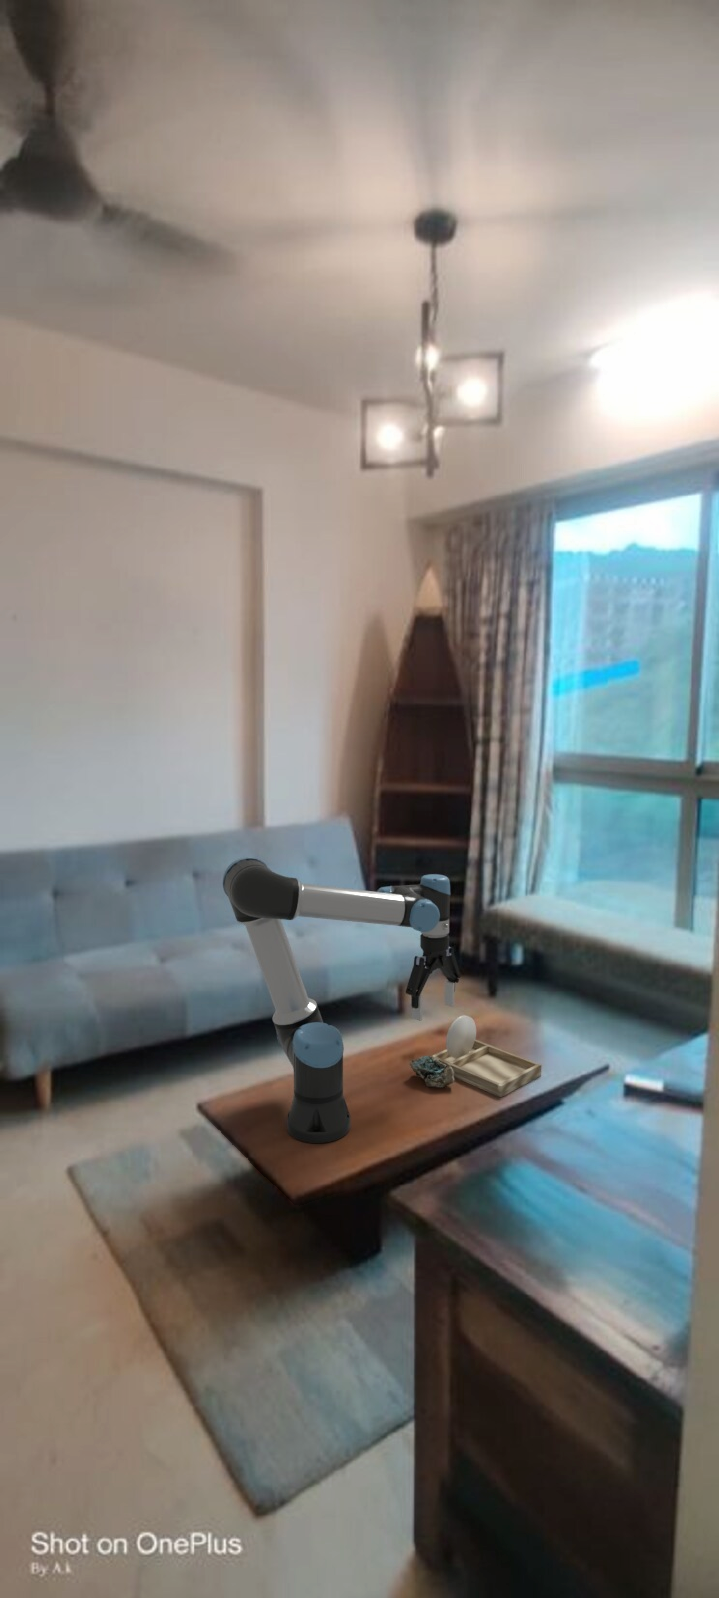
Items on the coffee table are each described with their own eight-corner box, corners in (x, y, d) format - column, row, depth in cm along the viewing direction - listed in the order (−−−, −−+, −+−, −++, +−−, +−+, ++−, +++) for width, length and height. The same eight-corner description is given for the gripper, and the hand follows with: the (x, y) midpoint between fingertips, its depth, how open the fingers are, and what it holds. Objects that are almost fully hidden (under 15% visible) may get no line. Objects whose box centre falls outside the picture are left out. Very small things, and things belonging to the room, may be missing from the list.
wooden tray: (500, 1097, 202) (501, 1086, 201) (430, 1066, 219) (430, 1056, 219) (541, 1075, 214) (541, 1064, 213) (471, 1047, 231) (471, 1037, 231)
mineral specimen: (405, 1073, 213) (409, 1051, 210) (431, 1062, 218) (436, 1040, 215) (433, 1105, 204) (438, 1083, 201) (460, 1093, 209) (465, 1070, 206)
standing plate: (448, 1064, 218) (449, 1022, 217) (445, 1063, 219) (446, 1021, 217) (475, 1051, 226) (476, 1011, 225) (473, 1050, 227) (473, 1010, 226)
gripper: (415, 946, 195) (414, 1029, 198) (474, 927, 213) (473, 1003, 215) (392, 940, 200) (391, 1021, 203) (452, 922, 218) (451, 996, 221)
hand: (433, 1012), depth 209 cm, fingers open, 13 cm apart
